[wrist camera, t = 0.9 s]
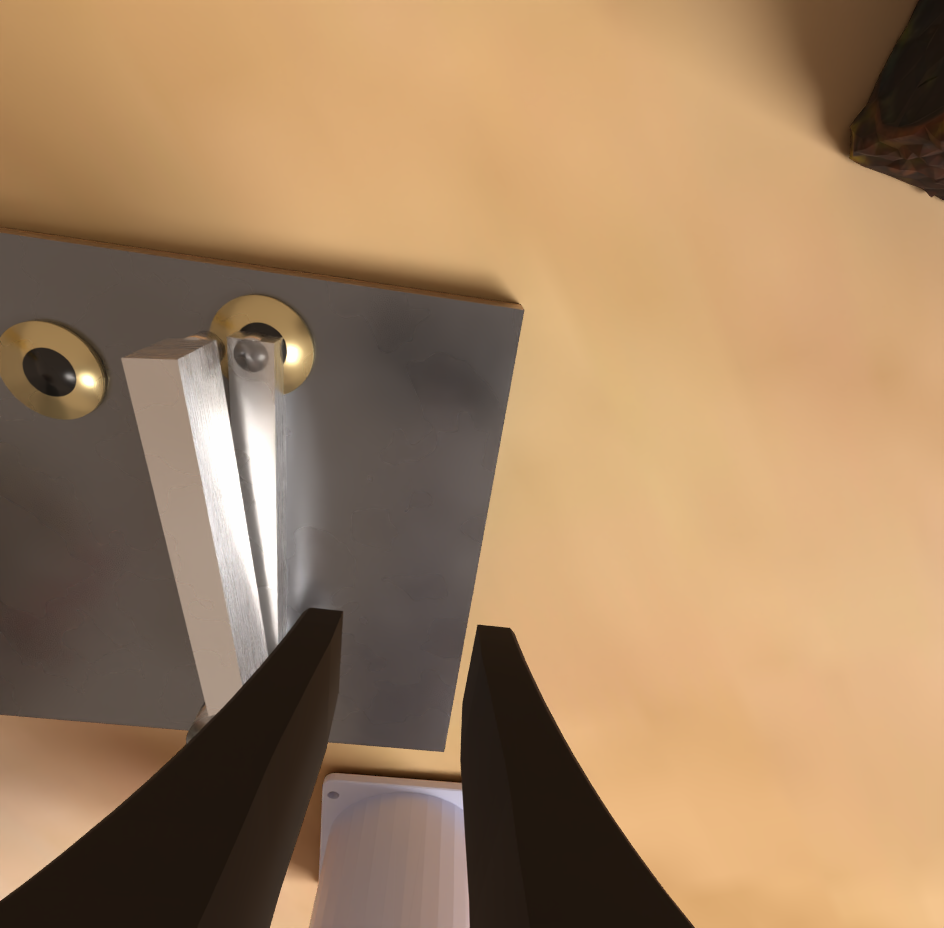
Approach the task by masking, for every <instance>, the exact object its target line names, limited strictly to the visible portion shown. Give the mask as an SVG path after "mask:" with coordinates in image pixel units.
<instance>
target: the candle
mask: <svg viewBox="0 0 944 928" xmlns="http://www.w3.org/2000/svg"><path fill="white" fill-rule="evenodd" d="M850 129H851V130H852V131H851V144H850V157H849V159H851V160H853V161H855V162H856V163H858V164H860V165H862V166H864V167H866V168H869V169H872V170H875V171H878V172H881V173H884V174H887V175H889V176H892V177H894V178H896V179H899V180H901V181H904V182H906V183H908V184H911V185H914V186H917V187H920V188H923V189H924V190H925V191H926V192H927V193H928V194H929V196H930V197H933V196H934V195H935V196H937V197H939V198H940V199H942V200H944V0H919V2H918V4H917V6H916V8H915V10H914V13H913V15H912V17H911V19H910V21H909V23H908V25H907V27H906V29H905V30H904V32H903V33H902V35H901V37H900V38H899V40H898V42H897V44H896V45H895V47H894V49H893V51H892V53H891V55H890V57H889V59H888V61H887V63H886V65H885V66H884V68H883V70H882V72H881V74H880V76H879V79H878V81H877V83H876V86H875V88H874V90H873V93H872V95H871V97H870V100H869V102H868V104H867V105H866V107H865V108H864V109H863V110H862V112H861V113H860V114H859V115H858V117H857V118H856V119H855V120H854V122H853V123H852V124H851V126H850Z"/></svg>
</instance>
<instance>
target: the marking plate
mask: <svg viewBox="0 0 944 928" xmlns="http://www.w3.org/2000/svg"><path fill="white" fill-rule="evenodd" d="M523 314H524V309H523V307H522V305H521V304H516V303H509V302H502V301H496V300H489V299H482V298H476V297H469V296H462V295H455V294H449V293H442V292H435V291H428V290H422V289H415V288H408V287H401V286H395V285H388V284H381V283H374V282H368V281H361V280H354V279H348V278H341V277H334V276H327V275H321V274H314V273H307V272H300V271H294V270H287V269H280V268H273V267H267V266H260V265H253V264H246V263H240V262H233V261H226V260H220V259H213V258H206V257H199V256H193V255H186V254H179V253H172V252H166V251H159V250H152V249H145V248H139V247H132V246H125V245H118V244H112V243H105V242H98V241H92V240H85V239H78V238H71V237H65V236H58V235H51V234H44V233H38V232H31V231H24V230H17V229H11V228H4V227H0V715H10V716H22V717H34V718H46V719H58V720H70V721H82V722H94V723H106V724H117V725H129V726H141V727H153V728H165V729H177V730H189V729H190V728H191V726H192V724H193V722H194V720H195V718H196V716H197V714H198V712H199V711H200V709H201V707H202V705H203V703H204V701H205V700H204V696H203V692H202V687H201V683H200V679H199V675H198V671H197V667H196V663H195V659H194V655H193V651H192V647H191V642H190V638H189V634H188V630H187V626H186V622H185V618H184V614H183V610H182V606H181V601H180V597H179V593H178V589H177V585H176V581H175V577H174V573H173V569H172V565H171V560H170V556H169V552H168V548H167V544H166V540H165V536H164V532H163V528H162V524H161V520H160V515H159V511H158V507H157V503H156V499H155V495H154V491H153V487H152V483H151V479H150V474H149V470H148V466H147V462H146V458H145V454H144V450H143V446H142V442H141V438H140V433H139V429H138V425H137V421H136V417H135V413H134V409H133V405H132V401H131V397H130V393H129V388H128V384H127V380H126V376H125V372H124V368H123V364H122V360H121V358H122V357H124V356H127V355H129V354H131V353H134V352H136V351H138V350H141V349H143V348H145V347H148V346H150V345H152V344H155V343H157V342H159V341H162V340H164V339H166V338H180V339H184V338H186V337H188V336H190V335H193V334H195V333H197V332H199V331H205V330H206V331H211V332H213V333H215V334H217V335H218V336H219V337H220V338H221V339H222V340H223V342H224V344H225V348H226V353H225V357H224V358H223V360H222V361H220V366H221V372H222V378H223V384H224V390H225V396H226V402H227V408H228V414H229V420H230V426H231V433H232V439H233V445H234V451H235V457H236V463H237V469H238V475H239V481H240V487H241V493H242V499H243V505H244V511H245V518H246V524H247V530H248V536H249V542H250V548H251V554H252V560H253V566H254V572H255V578H256V584H257V590H258V596H259V603H260V609H261V615H262V621H263V627H264V633H265V639H266V645H267V651H268V656H269V655H270V654H271V653H272V651H273V650H274V649H275V648H276V647H277V645H278V644H279V643H280V642H281V641H282V639H283V638H284V637H285V635H286V634H287V633H288V632H289V630H290V629H291V628H292V626H293V625H294V624H295V622H296V621H297V620H298V618H299V617H300V616H301V614H302V613H303V612H304V611H305V610H307V609H308V608H320V609H330V610H339V611H343V626H342V645H341V663H340V682H339V694H338V698H337V703H336V708H335V712H334V717H333V722H332V726H331V731H330V735H329V739H328V742H332V743H344V744H356V745H367V746H379V747H391V748H403V749H415V750H427V751H439V752H444V749H445V744H446V738H447V733H448V727H449V722H450V716H451V711H452V705H453V700H454V694H455V689H456V683H457V678H458V672H459V667H460V661H461V656H462V650H463V645H464V639H465V634H466V628H467V623H468V617H469V612H470V606H471V601H472V595H473V590H474V584H475V579H476V573H477V568H478V562H479V557H480V551H481V546H482V540H483V535H484V529H485V524H486V518H487V512H488V507H489V501H490V496H491V490H492V485H493V479H494V474H495V468H496V463H497V457H498V452H499V446H500V441H501V435H502V430H503V424H504V419H505V413H506V408H507V402H508V397H509V391H510V386H511V380H512V375H513V369H514V364H515V358H516V353H517V347H518V342H519V336H520V331H521V325H522V320H523Z"/></svg>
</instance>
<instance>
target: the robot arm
mask: <svg viewBox="0 0 944 928" xmlns="http://www.w3.org/2000/svg"><path fill="white" fill-rule="evenodd" d="M342 626H343V611H339V610H330V609H320V608H308V609H307V610H305V611H304V612H303V613H302V614H301V616H300V617H299V618H298V620H297V621H296V622H295V624H294V625H293V626H292V628H291V629H290V630H289V632H288V633H287V634H286V635H285V637H284V638H283V639H282V641H281V642H280V643H279V644H278V645H277V647H276V648H275V649H274V650H273V651H272V653H271V654H270V655H269V656H268V657H267V659H266V660H265V661H264V662H263V663H262V665H261V666H260V667H259V668H258V669H257V670H256V671H255V672H254V674H253V675H252V676H251V677H250V678H249V679H248V680H247V681H246V683H245V684H244V685H243V686H242V687H241V688H240V689H239V690H238V691H237V693H236V694H235V695H234V696H233V697H232V698H231V699H230V700H229V701H228V702H227V703H226V705H225V706H224V707H223V708H222V709H221V710H220V711H219V712H218V713H217V714H216V715H215V716H214V717H213V718H212V719H211V720H210V721H209V722H208V723H207V724H206V725H205V726H204V727H203V728H202V729H201V730H200V731H199V732H198V733H197V734H196V735H195V736H194V737H193V738H192V739H191V740H190V741H189V742H188V743H187V744H186V745H185V746H184V747H183V748H182V749H181V750H180V751H179V752H178V753H177V754H176V755H175V756H174V757H173V758H172V759H171V760H169V761H168V762H167V763H166V764H165V765H164V766H163V767H162V768H161V769H160V770H159V771H158V772H157V773H156V774H154V775H153V776H152V777H151V778H150V779H149V780H148V781H147V782H146V783H144V784H143V785H142V786H141V787H140V788H139V789H138V790H137V791H135V792H134V793H133V794H132V795H131V796H130V797H129V798H128V799H126V800H125V801H124V802H123V803H122V804H121V805H120V806H118V807H117V808H116V809H115V810H114V811H113V812H111V813H110V814H109V815H108V816H107V817H105V818H104V819H103V820H102V821H101V822H99V823H98V824H97V825H96V826H95V827H93V828H92V829H91V830H90V831H89V832H87V833H86V834H85V835H84V836H83V837H81V838H80V839H79V840H78V841H77V842H75V843H74V844H73V845H72V846H71V847H69V848H68V849H67V850H66V851H64V852H63V853H62V854H61V855H59V856H58V857H57V858H56V859H54V860H53V861H52V862H51V863H49V864H48V865H47V866H46V867H44V868H43V869H42V870H41V871H39V872H38V873H37V874H35V875H34V876H33V877H32V878H30V879H29V880H28V881H26V882H25V883H24V884H23V885H21V886H20V887H19V888H17V889H16V890H14V891H13V892H12V893H10V894H9V895H8V896H6V897H5V898H4V899H2V900H1V901H0V928H270V925H271V921H272V918H273V914H274V911H275V907H276V904H277V901H278V897H279V894H280V890H281V887H282V884H283V881H284V878H285V875H286V872H287V868H288V865H289V862H290V859H291V856H292V853H293V850H294V847H295V844H296V841H297V838H298V835H299V832H300V829H301V826H302V823H303V819H304V816H305V813H306V810H307V807H308V804H309V801H310V798H311V795H312V792H313V789H314V786H315V783H316V779H317V776H318V773H319V770H320V767H321V764H322V761H323V758H324V755H325V751H326V748H327V744H328V739H329V735H330V731H331V726H332V722H333V717H334V712H335V708H336V703H337V698H338V694H339V682H340V663H341V645H342ZM460 761H461V779H462V783H457V782H445V781H432V780H420V779H407V778H395V777H382V776H369V775H357V774H344V773H331V774H328V775H327V776H325V779H324V782H323V787H322V812H321V837H320V862H319V883H318V888H317V893H316V897H315V902H314V906H313V911H312V916H311V920H310V925H309V928H695V927H694V926H693V925H692V924H691V922H690V921H689V920H688V919H687V917H686V916H685V915H684V914H683V912H682V911H681V910H680V909H679V907H678V906H677V905H676V904H675V902H674V901H673V900H672V899H671V897H670V896H669V895H668V894H667V892H666V891H665V890H664V889H663V887H662V886H661V885H660V883H659V882H658V881H657V879H656V878H655V876H654V875H653V874H652V872H651V871H650V870H649V868H648V867H647V866H646V864H645V863H644V861H643V860H642V859H641V857H640V856H639V855H638V853H637V852H636V850H635V849H634V848H633V846H632V845H631V843H630V842H629V841H628V839H627V838H626V836H625V835H624V833H623V832H622V830H621V829H620V827H619V826H618V825H617V823H616V822H615V820H614V819H613V817H612V816H611V814H610V813H609V811H608V810H607V808H606V807H605V805H604V804H603V802H602V800H601V799H600V797H599V796H598V794H597V793H596V791H595V789H594V788H593V786H592V785H591V783H590V781H589V780H588V778H587V776H586V775H585V773H584V771H583V770H582V768H581V766H580V765H579V763H578V761H577V760H576V758H575V756H574V755H573V753H572V751H571V749H570V748H569V746H568V744H567V742H566V740H565V739H564V737H563V735H562V733H561V731H560V729H559V728H558V726H557V724H556V722H555V720H554V718H553V716H552V714H551V712H550V711H549V709H548V707H547V705H546V703H545V701H544V699H543V697H542V695H541V693H540V691H539V689H538V687H537V685H536V682H535V680H534V678H533V676H532V674H531V672H530V670H529V667H528V665H527V663H526V661H525V658H524V656H523V654H522V651H521V649H520V646H519V644H518V641H517V639H516V636H515V634H514V632H513V631H512V630H511V629H510V628H505V627H496V626H486V625H477V630H476V636H475V641H474V646H473V651H472V656H471V662H470V667H469V672H468V677H467V682H466V688H465V693H464V698H463V704H462V728H461V757H460Z"/></svg>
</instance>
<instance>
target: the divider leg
mask: <svg viewBox="0 0 944 928" xmlns="http://www.w3.org/2000/svg"><path fill="white" fill-rule="evenodd" d="M225 353H226V348H225V344H224V342H223V340H222V339H221V338H220V337H219V336H218V335H217V334H215V333H213V332H211V331H206V330H205V331H199V332H197V333H195V334H193V335H190V336H188V337H186V338H184V339H180V338H166V339H164V340H162V341H159V342H157V343H155V344H152V345H150V346H148V347H145V348H143V349H141V350H138V351H136V352H134V353H131V354H129V355H127V356H124V357H122V358H121V360H122V364H123V368H124V372H125V376H126V380H127V384H128V388H129V393H130V397H131V401H132V405H133V409H134V413H135V417H136V421H137V425H138V429H139V433H140V438H141V442H142V446H143V450H144V454H145V458H146V462H147V466H148V470H149V474H150V479H151V483H152V487H153V491H154V495H155V499H156V503H157V507H158V511H159V515H160V520H161V524H162V528H163V532H164V536H165V540H166V544H167V548H168V552H169V556H170V560H171V565H172V569H173V573H174V577H175V581H176V585H177V589H178V593H179V597H180V601H181V606H182V610H183V614H184V618H185V622H186V626H187V630H188V634H189V638H190V642H191V647H192V651H193V655H194V659H195V663H196V667H197V671H198V675H199V679H200V683H201V687H202V692H203V696H204V700H205V701H204V703H203V705H202V707H201V709H200V711H199V712H198V714H197V716H196V718H195V720H194V722H193V724H192V726H191V728H190V729H189V732H188V734H187V738H186V744H187V743H188V742H189V741H190V740H191V739H192V738H193V737H194V736H195V735H196V734H197V733H198V732H199V731H200V730H201V729H202V728H203V727H204V726H205V725H206V724H207V723H208V722H209V721H210V720H211V719H212V718H213V717H214V716H215V715H216V714H217V713H218V712H219V711H220V710H221V709H222V708H223V707H224V706H225V705H226V703H227V702H228V701H229V700H230V699H231V698H232V697H233V696H234V695H235V694H236V693H237V691H238V690H239V689H240V688H241V687H242V686H243V685H244V684H245V683H246V681H247V680H248V679H249V678H250V677H251V676H252V675H253V674H254V672H255V671H256V670H257V669H258V668H259V667H260V666H261V665H262V663H263V662H264V661H265V660H266V659H267V657H268V651H267V645H266V639H265V633H264V627H263V621H262V615H261V609H260V603H259V596H258V590H257V584H256V578H255V572H254V566H253V560H252V554H251V548H250V542H249V536H248V530H247V524H246V518H245V511H244V505H243V499H242V493H241V487H240V481H239V475H238V469H237V463H236V457H235V451H234V445H233V439H232V433H231V426H230V420H229V414H228V408H227V402H226V396H225V390H224V384H223V378H222V372H221V366H220V361H222V360H223V358H224V357H225Z"/></svg>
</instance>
